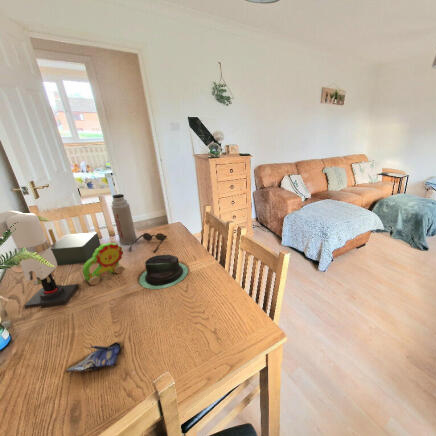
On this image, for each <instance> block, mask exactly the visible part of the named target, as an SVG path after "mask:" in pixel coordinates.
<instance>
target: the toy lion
mask: <svg viewBox="0 0 436 436" xmlns="http://www.w3.org/2000/svg"><path fill="white" fill-rule="evenodd" d="M123 255H124V250H123V248H122V246H120V245H119V244H117V243H115V242H114V243H113V242H112V243H111V242H107V243H102V244H101V245H100V246H99V248H97V249H96V250H95V252H94V253H93V255H92V258H90V259H89V260H88V261H87V262H86V263H83V266H82V274H83V282H84V283H85V282H86V283H89V284H90V285H91V286H96V285H98V284H100V281H101V278H102V277H104V276H105V275H108V274H111V273H115V274H121V273H122V272H123V271H124V267H123V266H122V265H120V263H119V261H121V260H122V259H123ZM95 264H97V265H98V266H97V268H95V270H93V272H91V273H90V268H91V267H92V265H95Z"/></svg>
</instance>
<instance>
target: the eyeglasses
mask: <svg viewBox="0 0 436 436" xmlns="http://www.w3.org/2000/svg"><path fill="white" fill-rule="evenodd" d="M153 237H155V238H156V240H158V241H160V242H159V243H158V244H157V246H156V248H155V250H153V253H156V252H157V251H158V248H159V246H160V245H161V244H162V243H163V242H164V241H165V240H166V239H167V237H168V235H165V234H164V233H162V232H158V233H157V234H150V233H148V232H144V233H143V234H141V235H140V236H139V237H137V238H136V239H137V240H135V241H134V242H133V243H132V244H130V246H129V253H132V252H131V249H132V246H133V245H134V244H135V243H136V242H137V241H138V240H140V239H141V238H143V239H144V240H147V241H151V240H152V239H153Z"/></svg>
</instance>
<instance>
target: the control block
mask: <svg viewBox="0 0 436 436" xmlns="http://www.w3.org/2000/svg"><path fill="white" fill-rule="evenodd" d="M56 285H57V288H58V290H57V291H55V292H53V293H50V294H45V292H44V289H43V287H41V288H40V289H39V290H38V291H37V292H36V293H35V294H34V295H32V297H31V298H30V299H29V300H28V301H26V303H24V305H23V306H24V309H29V308H37V307H40V309H43V308H51V307H58V306H65V305H66V306H67V305H68V303H69V302H70V301H71V299H72V298H73V297H74V295H75V294H76V293H77V292H78V290H79V289H80V287H79V284H78V283H73V284H65V285H61V284H56Z"/></svg>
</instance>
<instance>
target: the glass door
mask: <svg viewBox="0 0 436 436" xmlns="http://www.w3.org/2000/svg"><path fill="white" fill-rule="evenodd" d="M47 231H48V233H49V237H50V239H51V241H52V244H54V243H55V242H56V241H57V239H56V237H55V233H54V231H53V228H48V230H47Z"/></svg>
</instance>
